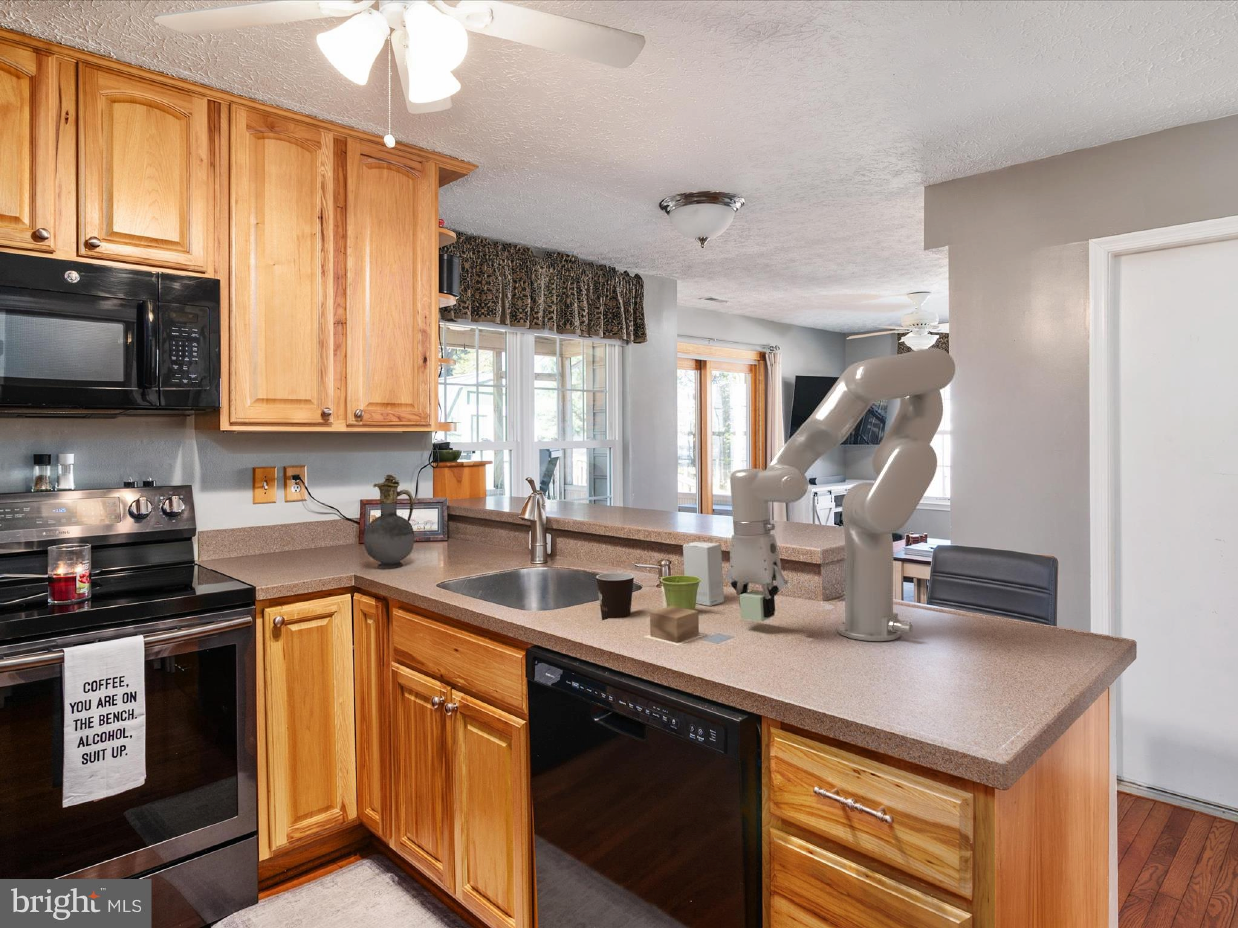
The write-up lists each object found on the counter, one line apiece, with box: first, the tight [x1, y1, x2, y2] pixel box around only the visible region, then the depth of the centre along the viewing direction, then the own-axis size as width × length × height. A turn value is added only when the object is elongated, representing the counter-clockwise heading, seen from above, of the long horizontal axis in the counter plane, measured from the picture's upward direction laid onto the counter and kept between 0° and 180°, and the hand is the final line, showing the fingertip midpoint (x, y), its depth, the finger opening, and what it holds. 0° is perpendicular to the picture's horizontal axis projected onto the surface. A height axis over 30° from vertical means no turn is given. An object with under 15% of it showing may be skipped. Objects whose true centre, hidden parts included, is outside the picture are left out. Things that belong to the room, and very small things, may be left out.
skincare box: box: [682, 541, 725, 607], centre depth 182 cm, size 8×6×15 cm
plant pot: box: [660, 574, 701, 611], centre depth 169 cm, size 9×9×9 cm
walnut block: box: [649, 606, 700, 643], centre depth 148 cm, size 7×7×5 cm
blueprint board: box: [643, 632, 735, 646], centre depth 148 cm, size 20×16×1 cm
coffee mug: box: [595, 572, 635, 621], centre depth 168 cm, size 12×9×10 cm
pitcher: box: [363, 474, 415, 570], centre depth 237 cm, size 11×19×30 cm, turn 153°
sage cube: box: [738, 589, 775, 623], centre depth 152 cm, size 5×5×5 cm
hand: (757, 613), depth 152 cm, fingers closed on sage cube, 5 cm apart
